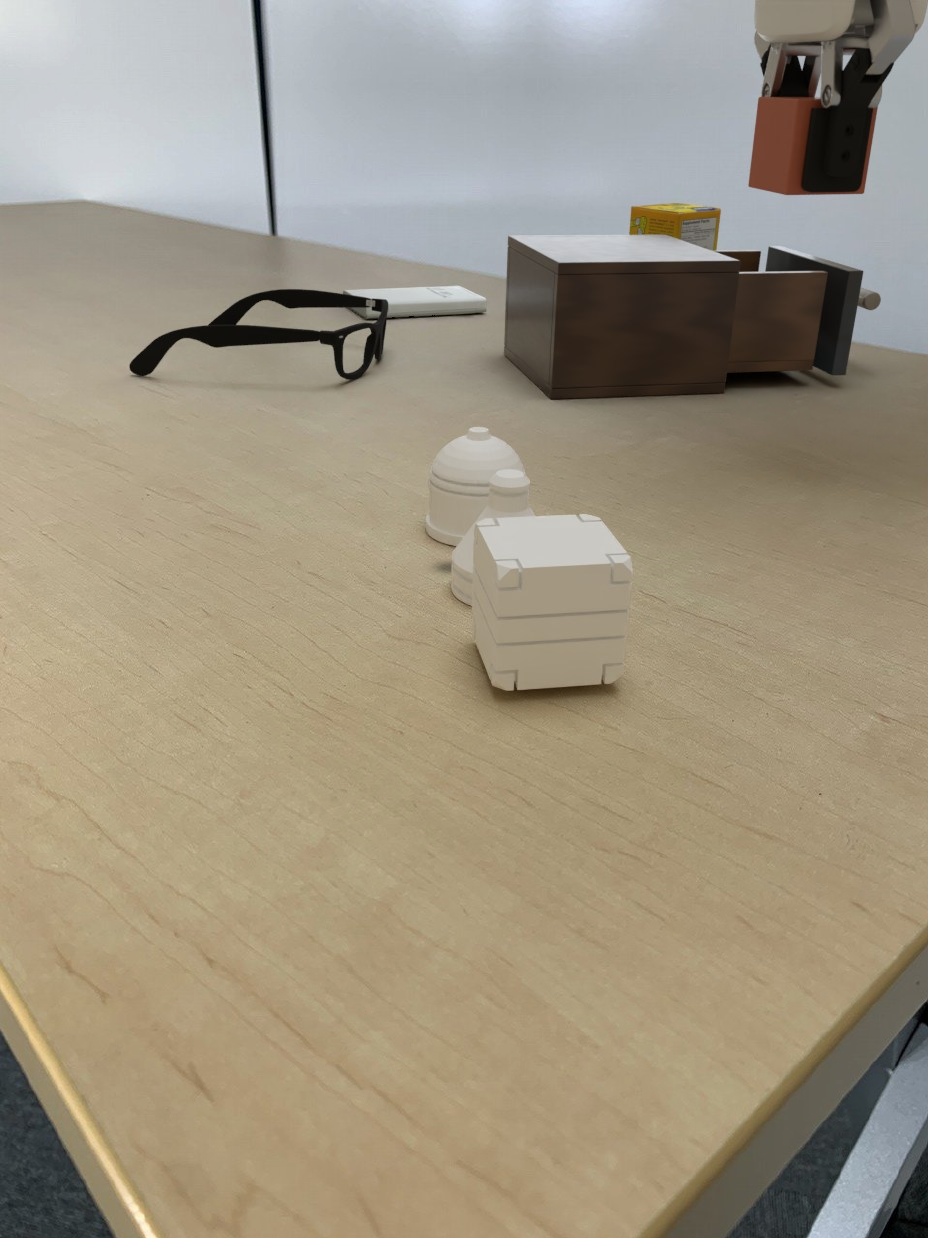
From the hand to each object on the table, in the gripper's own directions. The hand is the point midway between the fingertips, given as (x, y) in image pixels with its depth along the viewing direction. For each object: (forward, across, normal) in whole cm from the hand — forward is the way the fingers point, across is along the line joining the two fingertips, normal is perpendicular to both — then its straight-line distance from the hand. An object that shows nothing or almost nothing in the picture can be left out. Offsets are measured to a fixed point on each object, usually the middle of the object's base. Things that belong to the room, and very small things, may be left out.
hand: (805, 182), depth 60 cm
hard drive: (+16, +52, +13) cm, 56 cm away
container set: (+16, -15, +20) cm, 30 cm away
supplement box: (+17, +40, -9) cm, 44 cm away
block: (0, 0, 0) cm, 0 cm away
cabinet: (+16, +24, +2) cm, 29 cm away
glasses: (+16, +31, +28) cm, 45 cm away
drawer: (+16, +24, -11) cm, 30 cm away
